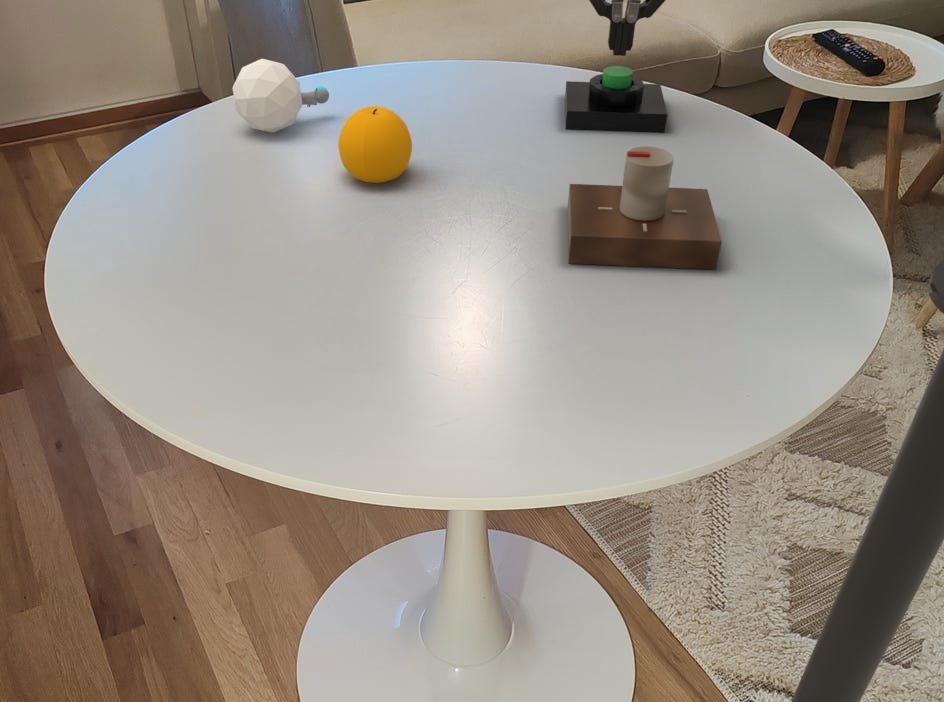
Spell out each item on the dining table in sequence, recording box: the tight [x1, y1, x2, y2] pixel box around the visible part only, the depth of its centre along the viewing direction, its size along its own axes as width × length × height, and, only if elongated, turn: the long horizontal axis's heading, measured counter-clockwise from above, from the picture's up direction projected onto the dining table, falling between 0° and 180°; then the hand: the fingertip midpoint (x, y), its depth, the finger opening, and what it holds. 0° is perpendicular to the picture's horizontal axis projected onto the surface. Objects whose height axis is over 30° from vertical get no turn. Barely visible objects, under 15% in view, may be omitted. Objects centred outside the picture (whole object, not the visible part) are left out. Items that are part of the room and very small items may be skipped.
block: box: [564, 73, 668, 133], centre depth 114 cm, size 12×10×4 cm
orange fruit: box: [337, 105, 413, 184], centre depth 100 cm, size 8×8×8 cm
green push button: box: [602, 65, 634, 89], centre depth 113 cm, size 4×4×2 cm
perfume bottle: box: [232, 58, 330, 134], centre depth 110 cm, size 8×8×12 cm
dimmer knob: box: [620, 146, 675, 221], centre depth 88 cm, size 4×4×6 cm
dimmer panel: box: [566, 183, 722, 271], centre depth 91 cm, size 14×11×3 cm
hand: (619, 53), depth 111 cm, fingers closed
